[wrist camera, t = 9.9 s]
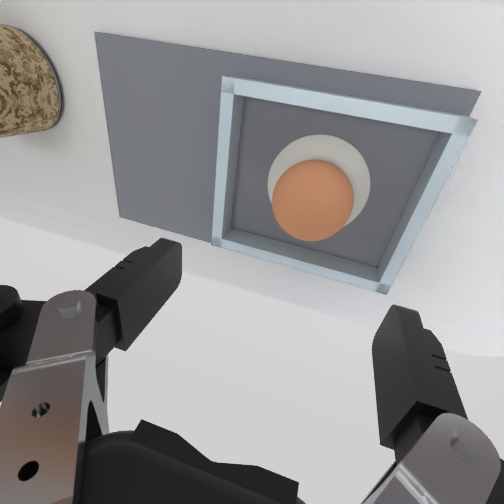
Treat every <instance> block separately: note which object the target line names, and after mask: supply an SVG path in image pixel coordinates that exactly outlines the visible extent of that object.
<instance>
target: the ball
mask: <svg viewBox="0 0 504 504" xmlns="http://www.w3.org/2000/svg"><path fill="white" fill-rule="evenodd" d="M353 204H354V193H353V188H352V185H351V183H350V181H349V179H348V177H347V176H346V174H345V173H344V172H343V171H342V170H341V169H340V168H338V167H337V166H335V165H334V164H332V163H330V162H327V161H323V160H306V161H302V162H299V163H297V164H295V165H293V166H291V167H290V168H288V169H287V170H286V171H285V172H284V173H283V174H282V175H281V176H280V178H279V179H278V181H277V183H276V185H275V187H274V190H273V195H272V209H273V213H274V216H275V218H276V221H277V222H278V224H279V225H280V226H281V228H282V229H283V230H284V231H285V232H287V233H288V234H289V235H291V236H293V237H295V238H297V239H300V240H304V241H318V240H323V239H326V238H329V237H331V236H332V235H334V234H335V233H337V232H338V231H339V230H340V229H342V228H343V226H344V225H345V224H346V222H347V221H348V219H349V218H350V215H351V213H352V209H353Z"/></svg>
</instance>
